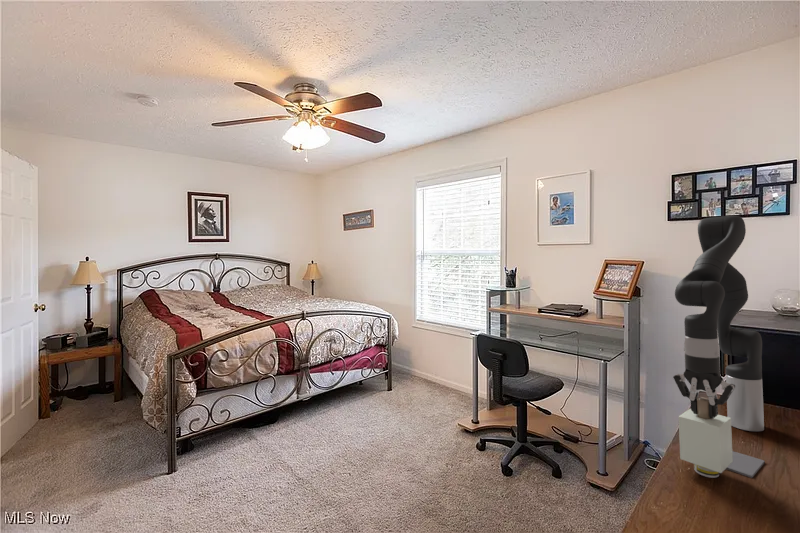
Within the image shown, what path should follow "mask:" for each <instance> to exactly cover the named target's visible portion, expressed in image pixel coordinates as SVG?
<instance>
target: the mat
mask: <svg viewBox="0 0 800 533" xmlns="http://www.w3.org/2000/svg"><path fill="white" fill-rule="evenodd" d="M732 456H733V462H732V463H731V464H730V465H729V466H728V467H727V468H726V469H725V470H728V471H729V472H733V473H737V474H739V475H742V476H745V477H748V478H750V479H752V478H754V476H755V475H756V474H757V473H758V472H759V470H760V469H761V468H762V467H763V466H764V465H765V460H763V459H762V458H761V459H760V458H757V457H754V456H751V455H748V454H745V453H741V452H737V451H734V450H732Z"/></svg>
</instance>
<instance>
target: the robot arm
mask: <svg viewBox="0 0 800 533" xmlns="http://www.w3.org/2000/svg"><path fill="white" fill-rule="evenodd" d="M746 230H747V229H746V223H745V220H744V218H743V217H741V216H739V215H726V216H725V215H724V216H714V217H706V218H703V219H701V220H699V222H698V223H697V236H698V239H699V240H698V241H699V244H700V247H701V251H702V253H701V254H700V255H698V258H696V260H695V262H694V264H693V267H692V269H691V271H690V272H688V274H686V275H685V276H684V277H683V278H681V280H680V281H679V282H678V284H676V287H675V291H674V297H675V300H676V302H678V303H679V305H682V306H687V307H702V308H703V307H704V308H706V309H705V311H704V312H703V313H696V314H695V313H694V314H688V315H687V316H685V318H684V340H683V342H684V343H683V346H684V347H683V352H684V367H685V368H684V372H683V373H676V374H675V375H673V377H672V379H673V380H674V382H675V384H676V385H677V387H678V390H679V392H680V394H681V396H682V397H685V398H688V399H689V400H690V408H691V411H693V413H694V414H697V397H699V394H700V391H704V392H705V394H706V396H707V398H708V399H709V403H710V404H709V417H710V418H712V419H713V418H715V417H716V416H717V415H719V407H718V406H723V405H725V404H726V408H727V409H726V411H727V416H726V417H730V418H731V427H733V428H737V429H738V430H739V429H740V430H742V431H749V432H763V431H764V430H765V422H764V421H765V420H764V419H765V417H764V416H765V415H764V414H765V413H764V396H763V395H764V392H763V391H764V390H763V387H764V386H763V364H762V363H763V362H762V360H763V359H762V357H763V340H762V339H763V338H762V336H761V333H759V331H757V330H749V329H748V330H747V329H739V328H732V327H731V323H732V321H733V320H734V318H735V317H736V315H737V314H738V313H739V312H740V311H741V310H742V308H744V306H745V305H746V303H747V302H748V300H749V293H748V292H749V290H748V286H747V280H746V279H745V276H744V275H743V273H741V272H740V271H739V270H738V269H737V268H736V267H734V266H733V265H732V264H731V263H730V262H729V261H731V259H732V257H733V256H734V255H735V254H736V252H737V251H738V249H739V248H740V247H741V245H742V243H743V242H744V240H745V237H746ZM720 351H721V352H722V353H723V354H724V355H727V356H728V355H729V356H734V357H742V358H747V360H746V361H744V362H742V363H741V362H740V363H735V364H728V365H726V367H725V380H724V378H723V377H722V375H721V360H720V358H721V356H720V353H721V352H720ZM686 380H687V382H688V384H689V385H690V389H689V388H688V386H687V384H686V382H685V381H686ZM720 385H721V389H722V390H723V392H722V394H721V395H720V397H719V398H718V392H717V388H719V386H720Z"/></svg>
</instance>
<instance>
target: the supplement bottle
mask: <svg viewBox="0 0 800 533" xmlns="http://www.w3.org/2000/svg"><path fill="white" fill-rule="evenodd" d="M693 469H694V471H695V472H696V473H697V474H698V475H701V476H702V477H705V478H710V479H711V478H712V479H713V478H715V479H716V478H718V477H719V476H720V473H719V472H716V471H713V470H710V469H708V468H705V467H702V466H699V465H696V464H693Z"/></svg>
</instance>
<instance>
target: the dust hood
mask: <svg viewBox="0 0 800 533" xmlns="http://www.w3.org/2000/svg"><path fill="white" fill-rule="evenodd" d="M709 404H710V403H709V399H708V397H703V396H698V397H697V414H694V413H693V411H691V407H690V408H689V409H687V410H686V411H685V412H683V413H682V414H681V413H680V415H678V436H679V437H678V438H679V460H682V461H685V462H687V463H690V464H693V465H694V464H696V465H699V466H702V467H705V468H708V469H710V470H713V471H716V472H719V474H722V473H723V472H725V470H727V469H726V468H727V467H728V466H729V465H730V464H731V463H732V462H733V456H732V451H733V438H732V437H733V435H732V426H731V418H730V417H728V416H725V415H721V414H718V415H717V416H716V417H715V418H713V419H712V418H710V417H709Z"/></svg>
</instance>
